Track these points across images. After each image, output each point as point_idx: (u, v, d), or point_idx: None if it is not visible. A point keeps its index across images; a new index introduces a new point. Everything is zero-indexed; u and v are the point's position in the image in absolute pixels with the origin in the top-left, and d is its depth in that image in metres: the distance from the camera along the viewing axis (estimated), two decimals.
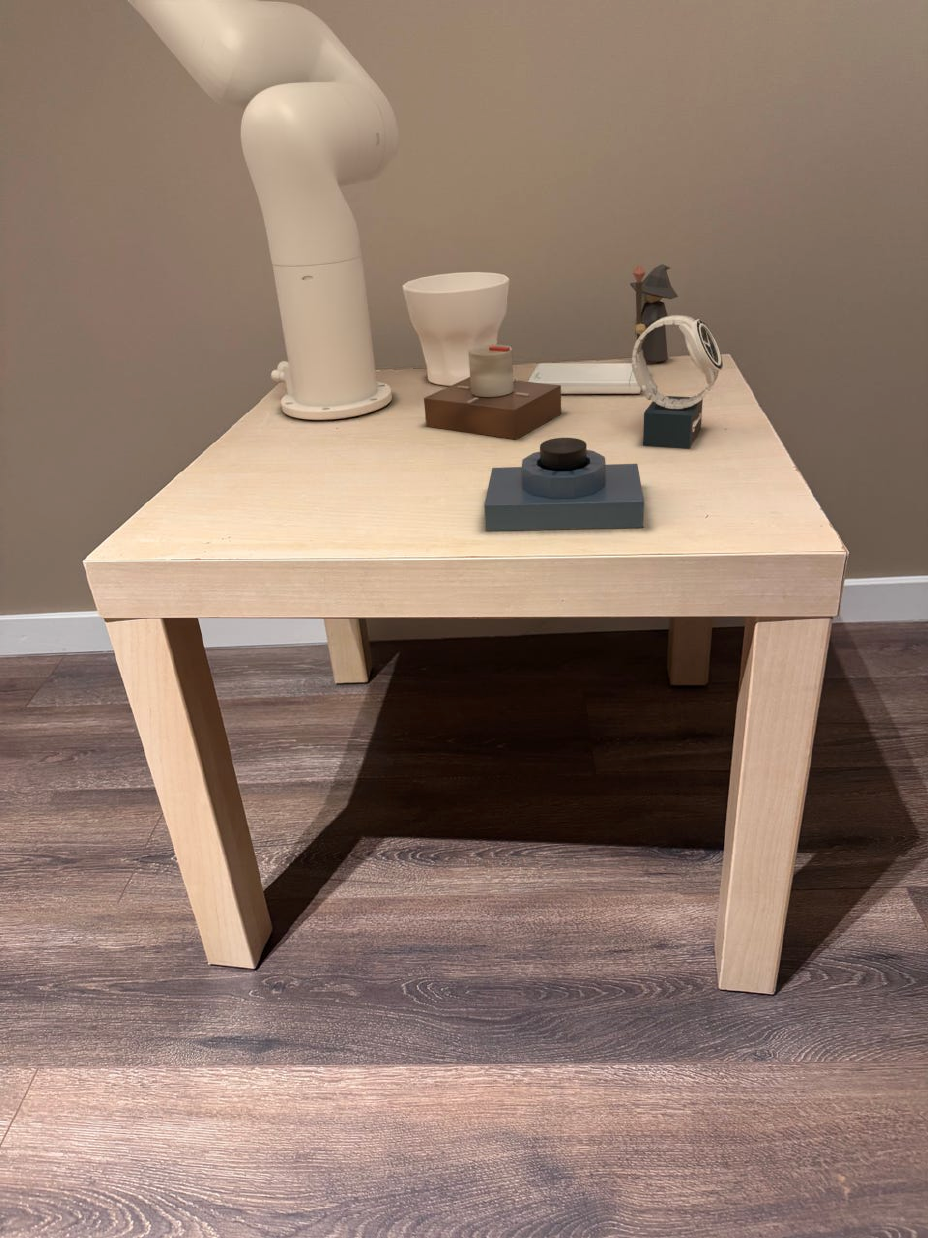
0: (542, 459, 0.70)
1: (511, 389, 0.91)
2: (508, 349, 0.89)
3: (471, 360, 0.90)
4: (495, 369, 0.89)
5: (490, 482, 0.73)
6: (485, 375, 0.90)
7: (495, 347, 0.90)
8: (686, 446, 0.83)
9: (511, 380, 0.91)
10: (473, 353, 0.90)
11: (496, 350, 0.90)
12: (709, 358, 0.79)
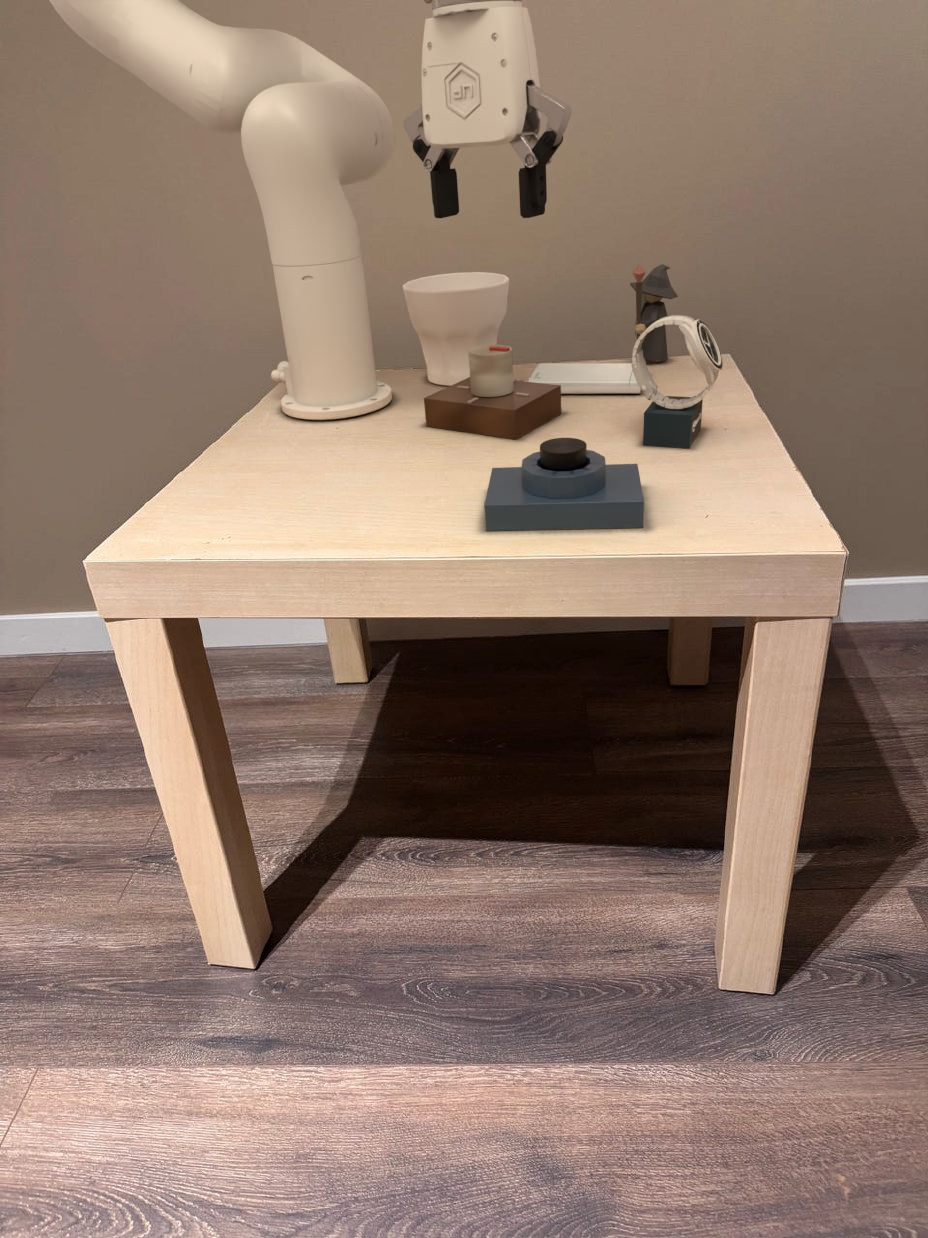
0: (542, 459, 0.70)
1: (511, 389, 0.91)
2: (508, 349, 0.89)
3: (471, 360, 0.90)
4: (495, 369, 0.89)
5: (490, 482, 0.73)
6: (485, 375, 0.90)
7: (495, 347, 0.90)
8: (686, 446, 0.83)
9: (511, 380, 0.91)
10: (473, 353, 0.90)
11: (496, 350, 0.90)
12: (709, 358, 0.79)
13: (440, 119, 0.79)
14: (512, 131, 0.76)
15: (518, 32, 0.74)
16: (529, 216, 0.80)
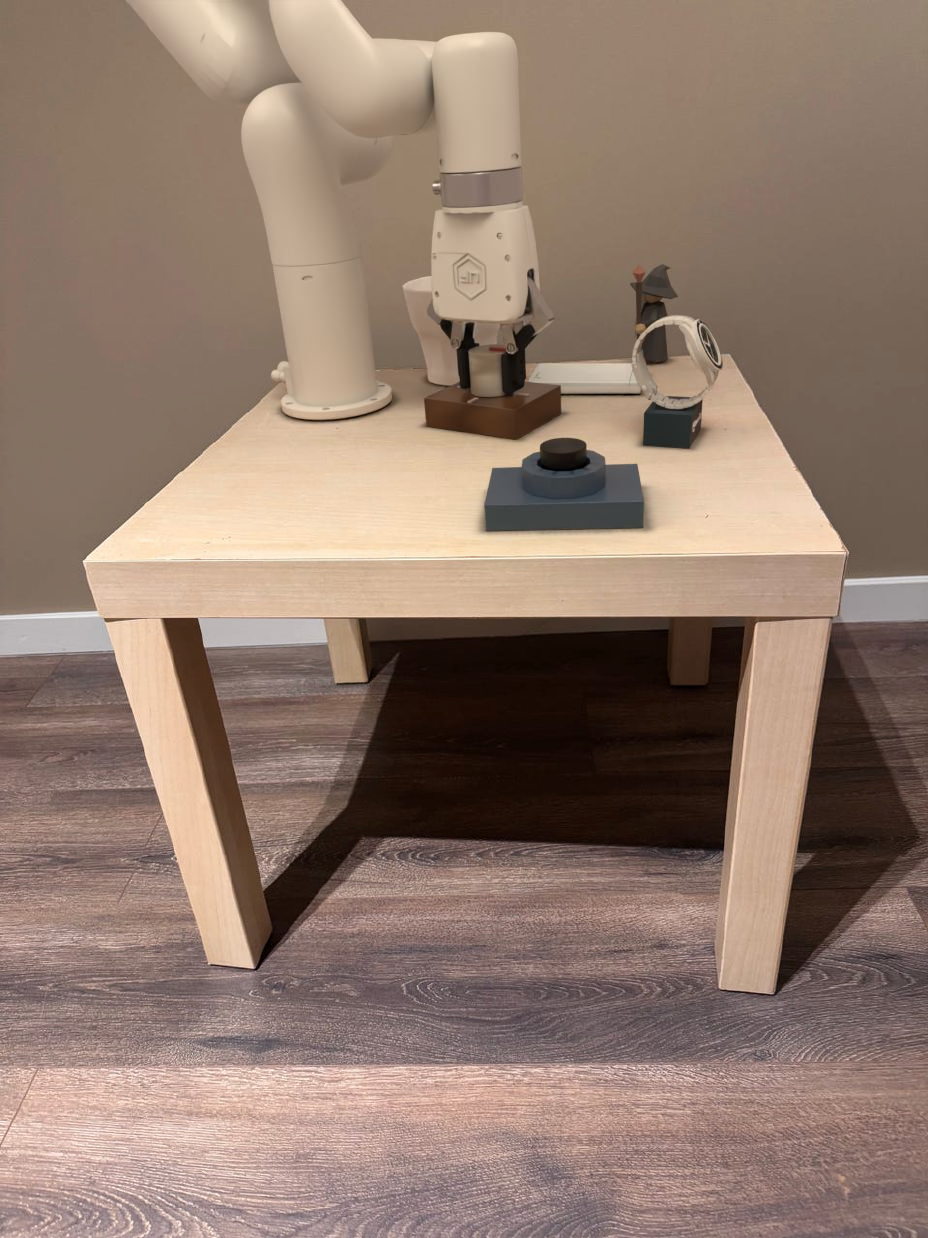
0: (542, 459, 0.70)
1: None
2: None
3: (471, 360, 0.90)
4: (495, 369, 0.89)
5: (490, 482, 0.73)
6: (485, 375, 0.90)
7: (495, 347, 0.90)
8: (686, 446, 0.83)
9: None
10: (473, 353, 0.90)
11: (496, 350, 0.90)
12: (709, 358, 0.79)
13: (448, 297, 0.87)
14: (515, 315, 0.84)
15: (520, 231, 0.82)
16: (510, 392, 0.90)
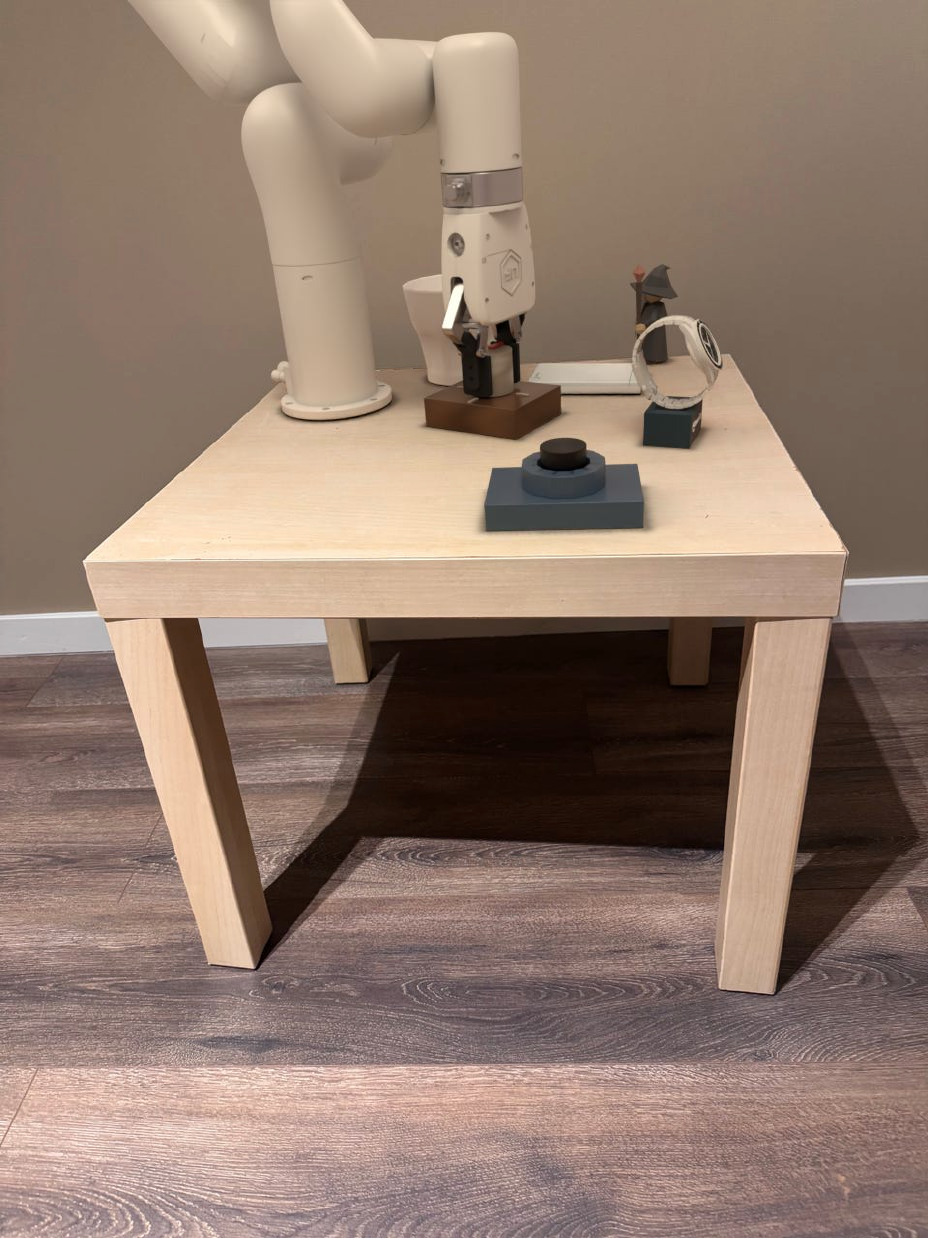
0: (542, 459, 0.70)
1: None
2: None
3: (501, 360, 0.89)
4: None
5: (490, 482, 0.73)
6: (512, 370, 0.91)
7: (495, 344, 0.91)
8: (686, 446, 0.83)
9: None
10: (501, 353, 0.89)
11: (497, 347, 0.91)
12: (709, 358, 0.79)
13: (497, 300, 0.85)
14: None
15: None
16: None
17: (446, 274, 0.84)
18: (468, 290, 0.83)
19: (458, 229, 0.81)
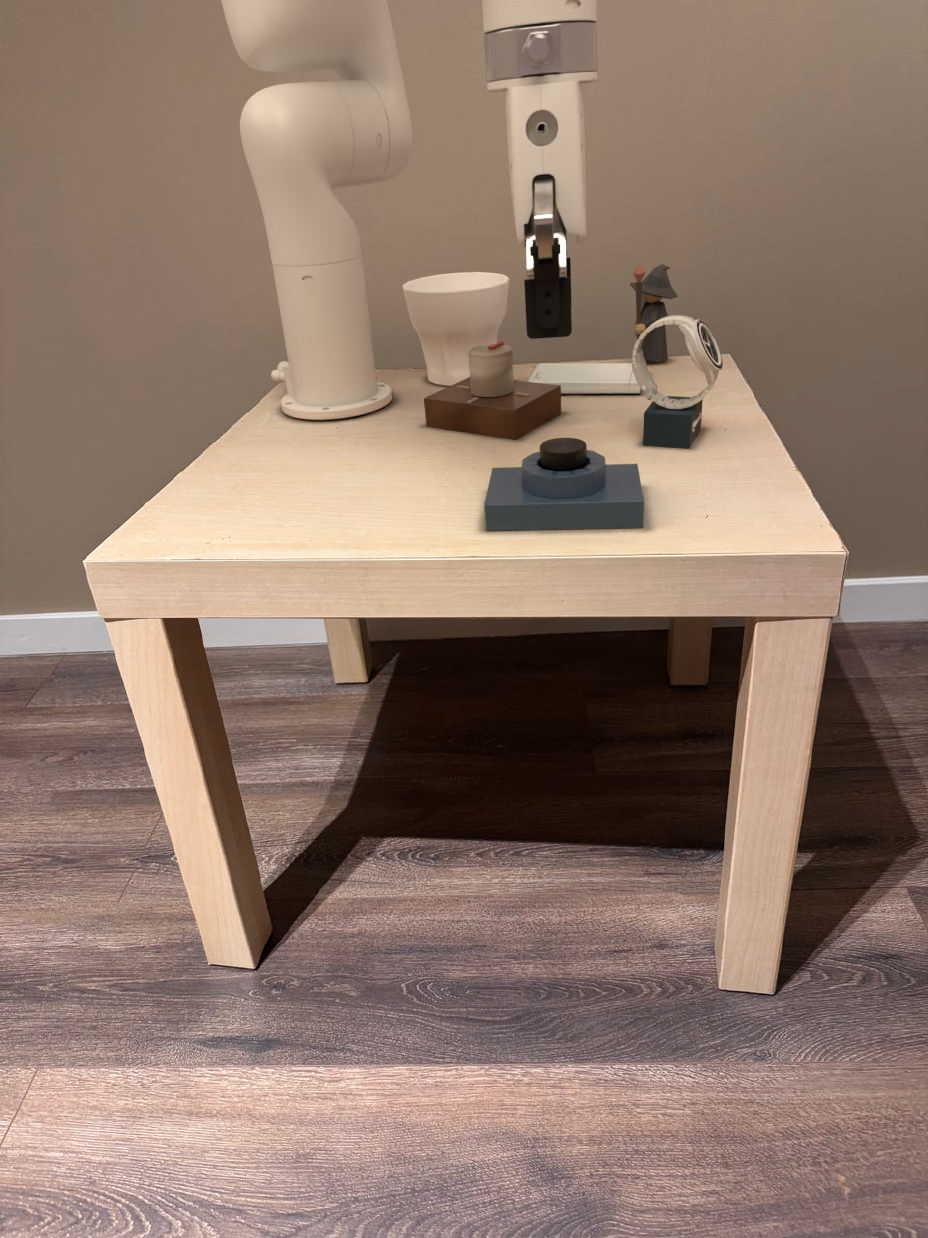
0: (542, 459, 0.70)
1: None
2: None
3: (501, 360, 0.89)
4: None
5: (490, 482, 0.73)
6: (512, 369, 0.91)
7: (495, 344, 0.91)
8: (686, 446, 0.83)
9: None
10: (501, 352, 0.89)
11: (497, 347, 0.91)
12: (709, 358, 0.79)
13: None
14: None
15: None
16: None
17: (525, 173, 0.60)
18: (563, 191, 0.60)
19: (545, 104, 0.58)
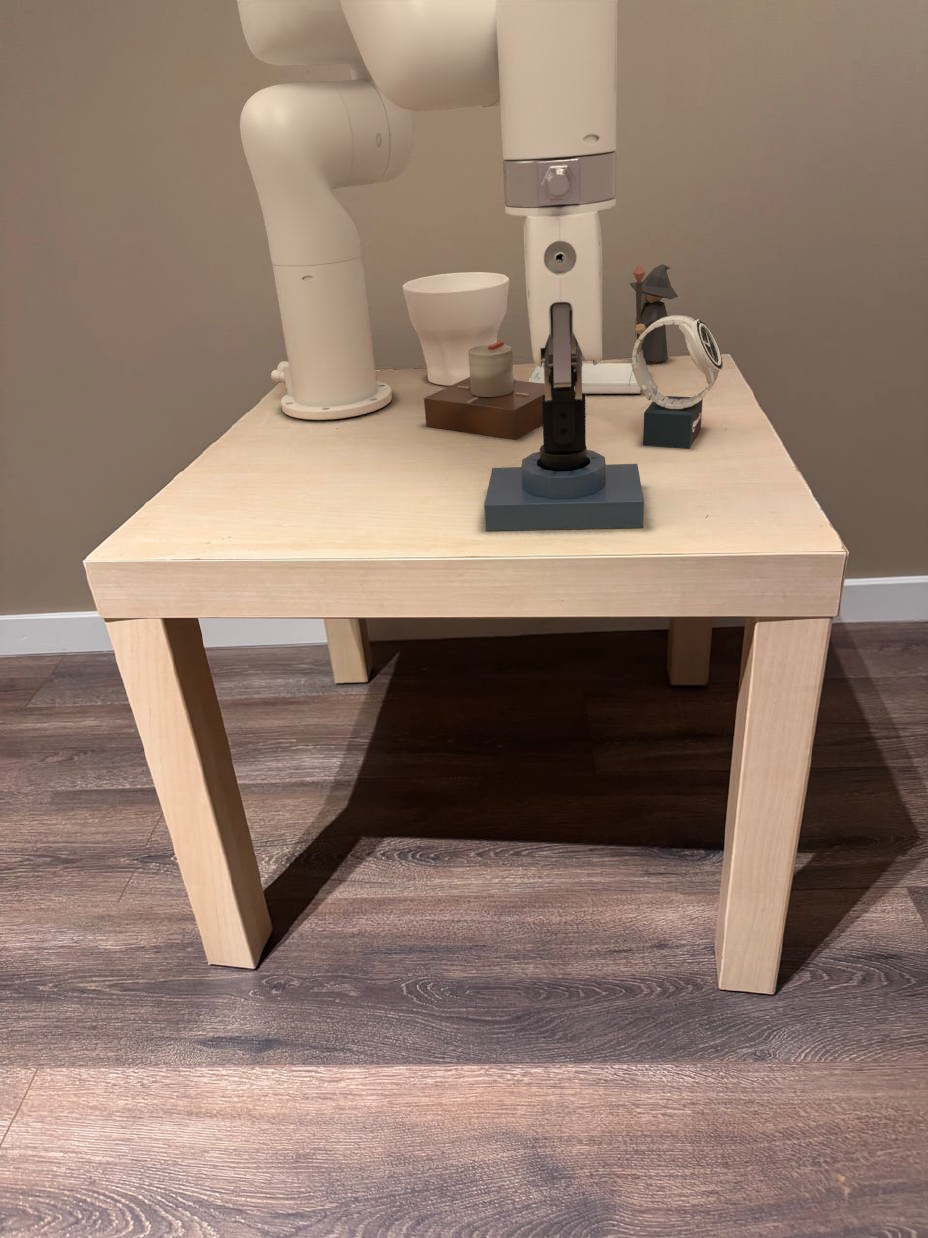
0: (542, 461, 0.70)
1: None
2: None
3: (501, 360, 0.89)
4: None
5: (490, 482, 0.73)
6: (512, 369, 0.91)
7: (495, 344, 0.91)
8: (686, 446, 0.83)
9: None
10: (501, 352, 0.89)
11: (497, 347, 0.91)
12: (709, 358, 0.79)
13: None
14: None
15: None
16: None
17: (542, 300, 0.60)
18: (580, 319, 0.60)
19: (564, 236, 0.58)
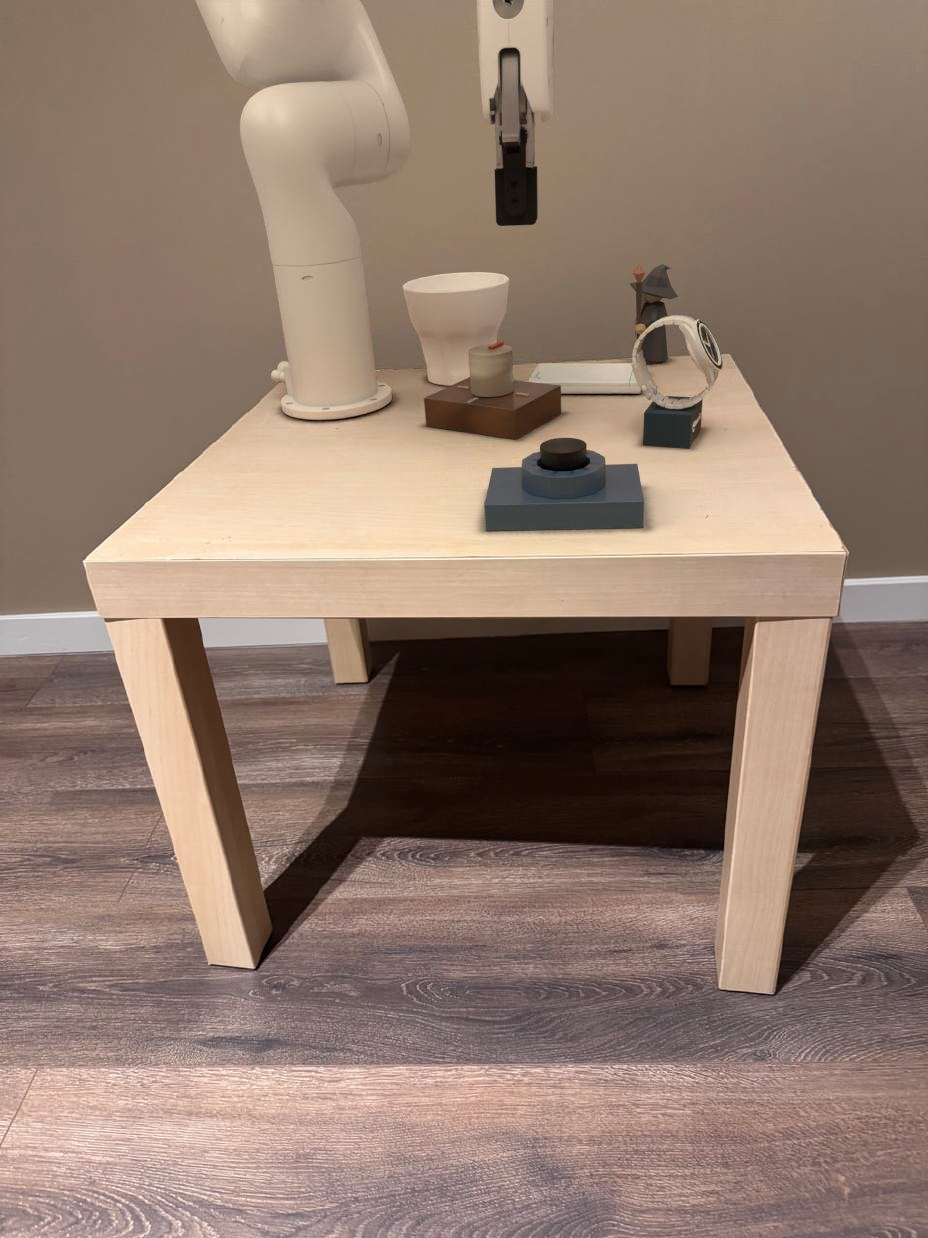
0: (542, 459, 0.70)
1: None
2: None
3: (501, 360, 0.89)
4: None
5: (490, 482, 0.73)
6: (512, 369, 0.91)
7: (495, 344, 0.91)
8: (686, 446, 0.83)
9: None
10: (501, 352, 0.89)
11: (497, 347, 0.91)
12: (709, 358, 0.79)
13: (551, 85, 0.64)
14: None
15: None
16: None
17: (491, 46, 0.62)
18: (528, 66, 0.62)
19: None
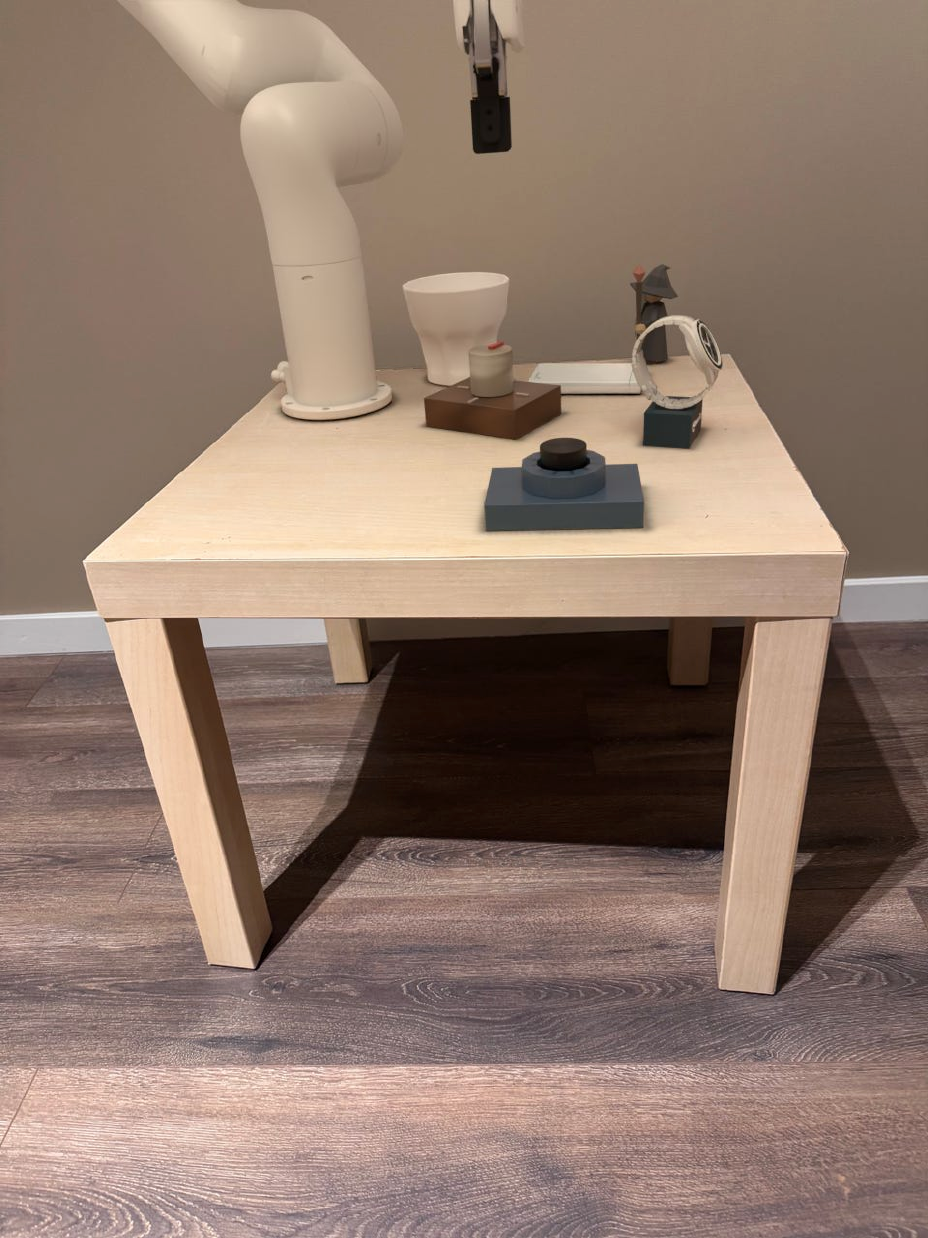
0: (542, 459, 0.70)
1: None
2: None
3: (501, 360, 0.89)
4: None
5: (490, 482, 0.73)
6: (512, 369, 0.91)
7: (495, 344, 0.91)
8: (686, 446, 0.83)
9: None
10: (501, 352, 0.89)
11: (497, 347, 0.91)
12: (709, 358, 0.79)
13: (519, 14, 0.70)
14: None
15: None
16: None
17: None
18: None
19: None
